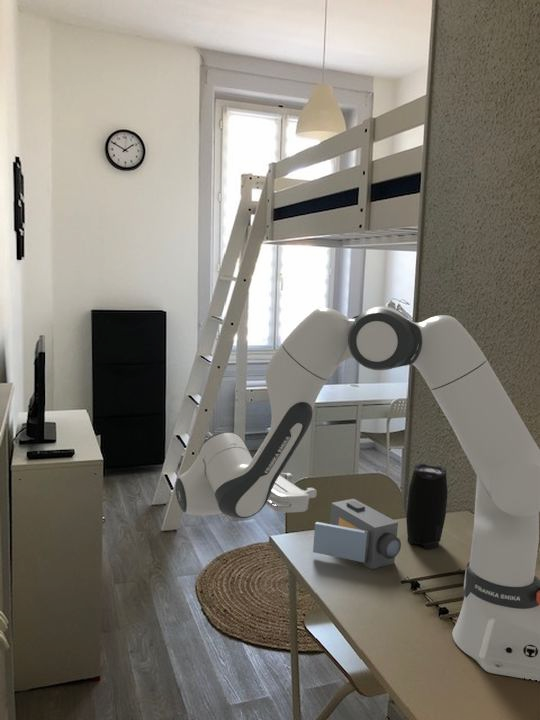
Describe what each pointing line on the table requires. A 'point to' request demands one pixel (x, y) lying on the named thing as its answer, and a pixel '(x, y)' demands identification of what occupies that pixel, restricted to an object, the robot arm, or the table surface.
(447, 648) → the table surface
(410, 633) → the table surface
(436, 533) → the portable speaker
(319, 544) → the side panel
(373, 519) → the camcorder body
